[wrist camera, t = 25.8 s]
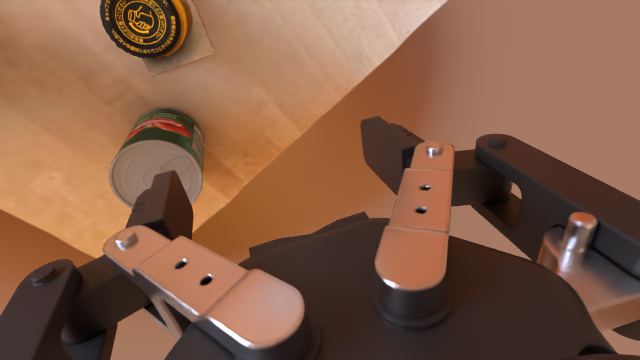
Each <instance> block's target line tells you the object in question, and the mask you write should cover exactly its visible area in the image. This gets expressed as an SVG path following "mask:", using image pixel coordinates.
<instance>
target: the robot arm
mask: <svg viewBox="0 0 640 360" xmlns="http://www.w3.org/2000/svg"><path fill="white" fill-rule="evenodd" d="M361 136H362V145H363V154H364V158H365V161H366V163H367V165H368V166H369V167H370V168H371V169H372V170H373V171H374V172H375V173H376V174H377V175H378V176H379V178H381V180H382V181H383V182H384V183H385V184H386V185H387V186H388V187H389V188H390V189H391V190H392V191H393V192H394V193H395V194H396V195H397V199H396V201H395V205H394V209H393V212H392V215H391V219H390V218H370V219H369V217H368V216H367V215H366V213H365V212H362V213H359V214H355V215H352V216H349V217H346V218H342V219H339V220H337V221H335V222H333V223H331V224H329V225H327V226H325V227H323V228H322V229H320V230H318V231H316V232H314V233H312V234H308V235H302V236H294V237H287V238H281V239H276V240H273V241H270V242H267V243H263V244H261V245H257V246H254V247H251V248H249V251H250V257H249V258H247V259H246V260H244V261H243V262H241V263H239V264H238V265H237V264H235V263H233V262H231V261H229V260H227V259H225V258H223V257H222V256H220V255H218V254H216V253H214V252H212V251H210V250H208V249H206V248H205V247H203V246H201V245H199V244H197V243H195V242H193V241H192V228H193V209H192V206H191V203H190V200H189V198H188V196H187V194H186V191H185V189H184V187H183V185H182V182H181V180H180V178H179V176H178V174H177V172H176V171H175V170H171V171H167V172H164V173H160V174H156V175H155V176H154V179H153V182H152V185H151V188H150V189H146V190H144V191H143V192H142V193H141V194H140V195H139V196H138V197H137V199H136V201H135V204H134V207H133V209H132V214H131V215H130V217H129V220H128V223H127V226H126V228H125V229H123V230H121V231H119V232H118V233H116V234H115V235H113V236H112V237H111V238H109V239H108V240H107V241H106V243H105V244H104V246H103V253H104V255H103V256H101V257H99V258H97V259H95V260H93V261H91V262H89V263H87V264H85V265H83V266H80V267H78V268H76V266H75V265H74V264H73V262H72V261H71V260H68V259H61V260H56V261H53V262H50V263H48V264H46V265H44V266H42V267H40V268H38V269H37V270H35V271H33V272H32V273H31V274H29V275H28V276H27V277H26V278H25V279H24V280H23V281H22V282H21V283H20V284H19V286H18V287H17V289H16V291H15V292H14V294H13V296H12V297H11V299H10V301H9V303H8V304H7V306H6V308H5V309H4V311H3V313H2V314H1V316H0V360H110V358H111V354H112V349H113V344H114V340H115V335H116V330H117V322H119V321H121V320H122V319H124V318H126V317H128V316H129V315H131V314H133V313H134V312H136V311H138V310H140V309H142V310H143V311H144V312H145V313H146V314H147V315H148V316H149V317H150V318H152V319H153V320H154V321H155V322H156V323H157V324H158V325H160V326H161V327H162V328H163V329H164V330H165V331H166V332H168V333H169V334H170V335H171V336H172V337H173V338H174V339H175V340H176V341H177V343H176V344H175V346H174V347H173V349H172V350H171V351H170V352H169V354H168V355H167V357H166V358H165V359H164V360H640V356H635V355H622V354H618V353H617V352H616V351H615V350H614V349H613V347H612V346H611V345H610V344H609V343H608V342H607V340H606V339H605V338H604V336H603V335H602V334H601V333H602V332H605V331H608V330H613V331H615V332H617V333H618V334H620V335H622V336H625V337H627V338H630V339H634V340H639V341H640V201H639V200H637V199H635V198H633V197H631V196H629V195H627V194H625V193H623V192H621V191H619V190H617V189H615V188H613V187H612V186H610V185H607V184H606V183H604V182H601V181H600V180H598V179H596V178H593V177H592V176H589V175H588V174H586V173H584V172H582V171H580V170H578V169H576V168H573V167H572V166H570V165H568V164H566V163H564V162H562V161H560V160H558V159H556V158H554V157H552V156H550V155H548V154H546V153H544V152H542V151H540V150H538V149H536V148H534V147H532V146H530V145H528V144H526V143H524V142H522V141H520V140H518V139H516V138H514V137H512V136H508V135H504V134H488V135H484V136H481V137H479V138H478V139H477V140H476V148H475V149H474V150H464V151H455V148H454V146H453V145H451V144H449V143H447V142H443V141H428V142H425V141H424V140H422V139H421V138H419V137H418V136H416V135H413V133H412V132H410V131H408V130H407V129H405V128H404V127H403V126H400V125H396V124H393V123H390V124H389V123H388V122H386V121H385V120H383V119H382V118H381V117H379V116H375V117H372V118H368V119H364V120H362V121H361ZM512 183H515V184H516V185H517V186H518V187H519V188H520V191H521V194H522V199H520V198H518V197H517V196H515V195H514V194H512V193H511V190H512ZM462 205H471V206H472V207H473V208H474V209H475V210H476V211H477V212H478V213H479V214H481V215H482V216H483V217H484V218H485V219H486V220H488V222H490V223H491V224H492V225H493V226H494V227H495V228H497V230H499V231H500V232H501V233H502V234H503V235H504V236H505V237H506V238H508V239H509V240H510V241H511V242H512V243H513V244H514V245H516V246H517V247H518V248H519V249H520V250H521V251H522V252H523V253H525V254H526V255H527V256H528V257H529V258H530V259H531V260H532V261H531V260H528V259H525V258H522V257H518V256H515V255H512V254H509V253H506V252H502V251H499V250H496V249H493V248H489V247H486V246H483V245H479V244H476V243H473V242H469V241H466V240H463V239H460V238H457V237H453V236H450V235H449V231H450V216H451V206H462Z"/></svg>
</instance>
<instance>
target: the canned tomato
mask: <svg viewBox="0 0 640 360" xmlns="http://www.w3.org/2000/svg"><path fill="white" fill-rule="evenodd" d="M203 156H204V135H203V131H202V129H201V127H200V125H199V124H198V122H197V121H196V120H195V119H194V118H193V117H192V116H191V115H189V114H188V113H186V112H184V111H182V110H179V109H176V108H171V107H160V108H155V109H152V110H149V111H147V112H146V113H144V114H143V115H142V116H141V117H140V118H139V119H138V120H137V122H136V123H135V126H134V127H133V129H132V131H131V132H130V134H129V136H128V137H127V139H126V141H125V142H124V144H123V146H122V147H121V149H120V150H119V152H118V154H117V155H116V157H115V158H114V160H113V161H112V163H111V167H110V170H109V180H110V185H111V188H112V190H113V192H114V194H115V195H116V196H117V197H118V199H119V200H120V201H121V202H123V203H124V204H125V205H126V206H128V207H129V208H131V209H133V207H134V204H135V201H136V199H137V197H138V196H139V195H140V194H141V193H142V192H143V191H144V190H146V189H150V188H151V185H152V182H153V179H154V176H155V175H156V174H160V173H164V172H167V171H171V170H175V171H176V172H177V174H178V176H179V178H180V180H181V182H182V185H183V187H184V189H185V191H186V194H187V196H188V198H189V200H190V203H191V204H192V203H193V202H195V200H196V199H197V197H198V196H199V194H200V192H201V189H202V184H203Z"/></svg>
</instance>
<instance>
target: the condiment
mask: <svg viewBox="0 0 640 360" xmlns="http://www.w3.org/2000/svg"><path fill="white" fill-rule="evenodd" d="M100 15H101V20H102V24H103V27H104V29H105V30H106V32H107V34H108V35H109V36H110V38H111V40H112V41H114V42H115V43H116V45H117V46H118V47H119V48H121V49H123V50H124V51H125V52H127V53H130V54H131V55H134V56H137V57H139V58H142V59H143V61H144V63H145V65H146V67H147V68H148V70H149V72H150V74H151V75H152V76H155V75H158V74H160V73H163V72H166V71H168V70H171V69H174V68H176V67H179V66H182V65H185V64H187V63H190V62H193V61H195V60H198V59H201V58H204V57H206V56H209V55H212V54H215V51H214V49H213V46H212V44H211V42H210V40H209V37H208V35H207V33H206V31H205V29H204V26H203V24H202V22H201V20H200V17H199V15H198V13H197V11H196V8H195V6H194V4H193V2H192V0H101V5H100Z"/></svg>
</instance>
